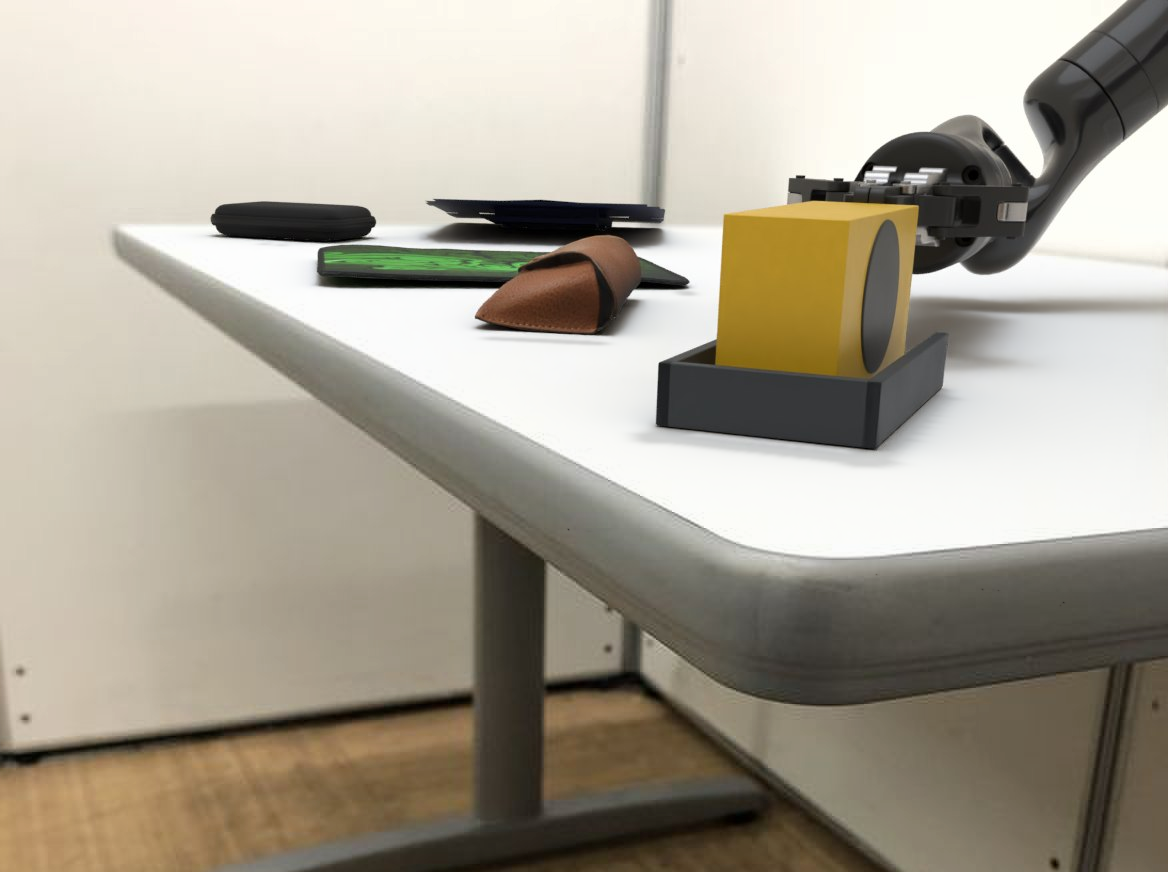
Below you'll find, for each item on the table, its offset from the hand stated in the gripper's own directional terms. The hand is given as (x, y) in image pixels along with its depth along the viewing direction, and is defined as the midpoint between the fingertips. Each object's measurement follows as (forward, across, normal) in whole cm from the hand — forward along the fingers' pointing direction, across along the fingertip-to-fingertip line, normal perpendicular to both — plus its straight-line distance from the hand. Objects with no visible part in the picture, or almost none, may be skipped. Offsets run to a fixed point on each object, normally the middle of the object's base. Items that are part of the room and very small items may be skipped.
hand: (866, 211), depth 65 cm
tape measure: (+6, 0, -8) cm, 10 cm away
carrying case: (-53, +67, -7) cm, 86 cm away
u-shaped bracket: (+8, 0, -8) cm, 11 cm away
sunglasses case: (-14, +21, -8) cm, 27 cm away
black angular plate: (-73, +49, -7) cm, 88 cm away
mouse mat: (-34, +36, -7) cm, 50 cm away
